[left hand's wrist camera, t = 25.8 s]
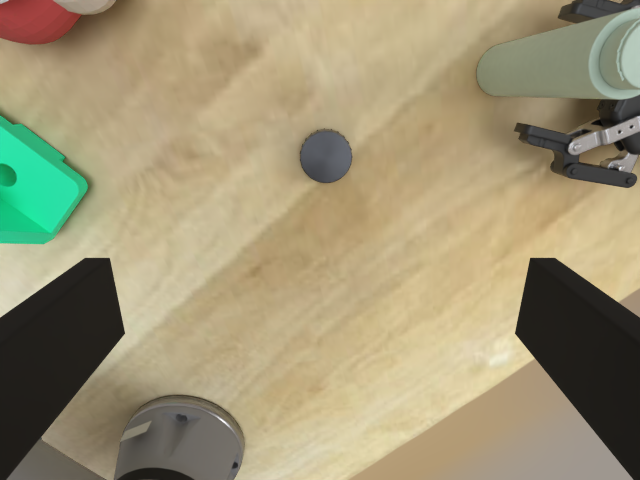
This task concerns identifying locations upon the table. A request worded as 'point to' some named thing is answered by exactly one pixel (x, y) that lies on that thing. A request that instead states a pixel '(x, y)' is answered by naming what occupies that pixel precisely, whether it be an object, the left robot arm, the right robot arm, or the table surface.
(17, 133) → the camera mount
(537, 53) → the jar
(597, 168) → the right robot arm
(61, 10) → the toy
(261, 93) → the table surface
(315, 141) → the lid
